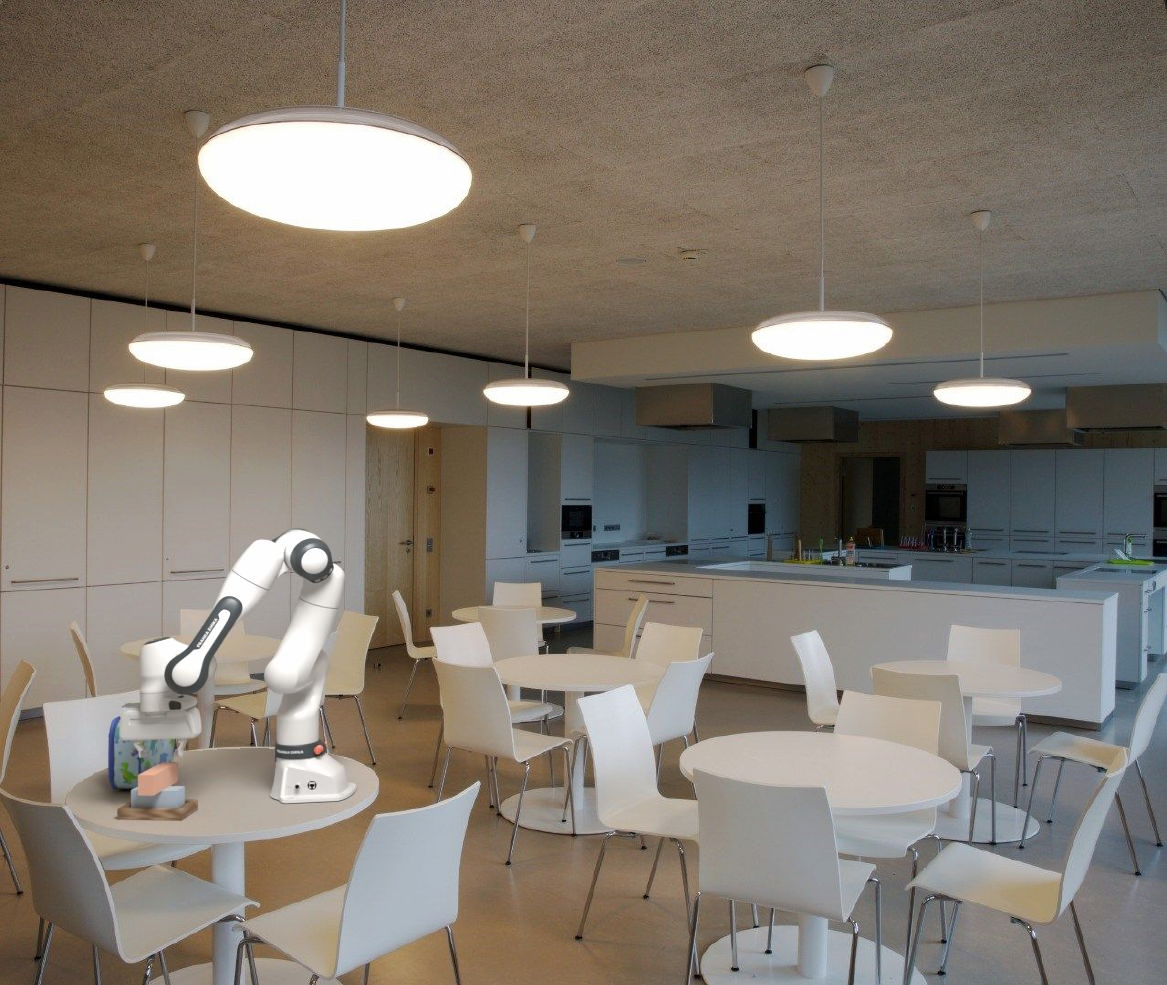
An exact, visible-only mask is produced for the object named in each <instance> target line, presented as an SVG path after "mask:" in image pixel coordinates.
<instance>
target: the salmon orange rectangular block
mask: <svg viewBox="0 0 1167 985" xmlns="http://www.w3.org/2000/svg"><path fill="white" fill-rule="evenodd" d="M178 763H179V762H178V761H173V762H162V763H160V764H158V765H156V766H154V767H153V768H151V769H149V770H147V771H145V772H143V773H141V774H139V775H138V795H144V796H154V795H156V794H157V793H159V792H161V791H162V790H164V789H166V788H168V787H169V786H174V784H176V783H178V781H179V774H178V772H179V770H178V769H179V767H178V766H179V764H178Z"/></svg>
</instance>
